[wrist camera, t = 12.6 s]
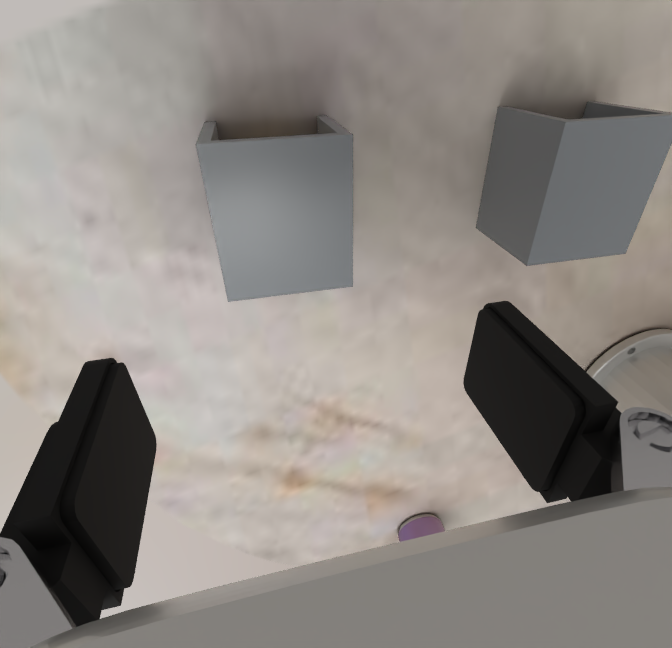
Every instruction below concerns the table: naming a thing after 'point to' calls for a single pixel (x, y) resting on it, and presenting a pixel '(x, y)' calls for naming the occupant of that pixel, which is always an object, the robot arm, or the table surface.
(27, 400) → the table surface
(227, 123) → the table surface
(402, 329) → the table surface
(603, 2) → the table surface
